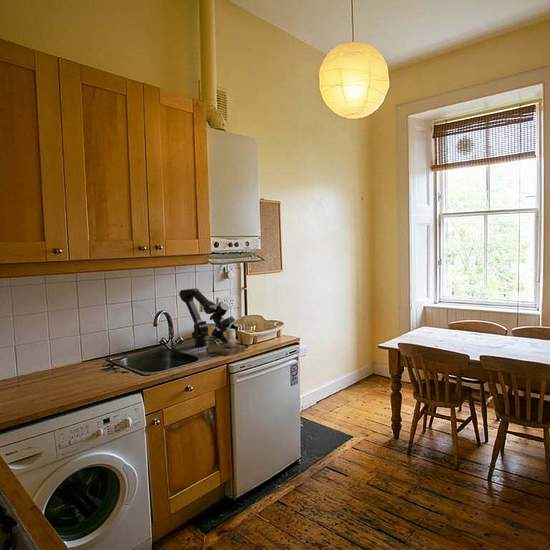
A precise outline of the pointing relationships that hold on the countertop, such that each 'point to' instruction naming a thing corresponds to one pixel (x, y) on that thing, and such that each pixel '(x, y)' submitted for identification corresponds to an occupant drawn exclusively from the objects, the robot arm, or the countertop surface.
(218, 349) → the walnut board
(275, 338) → the countertop surface
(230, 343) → the cream leg
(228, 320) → the robot arm
